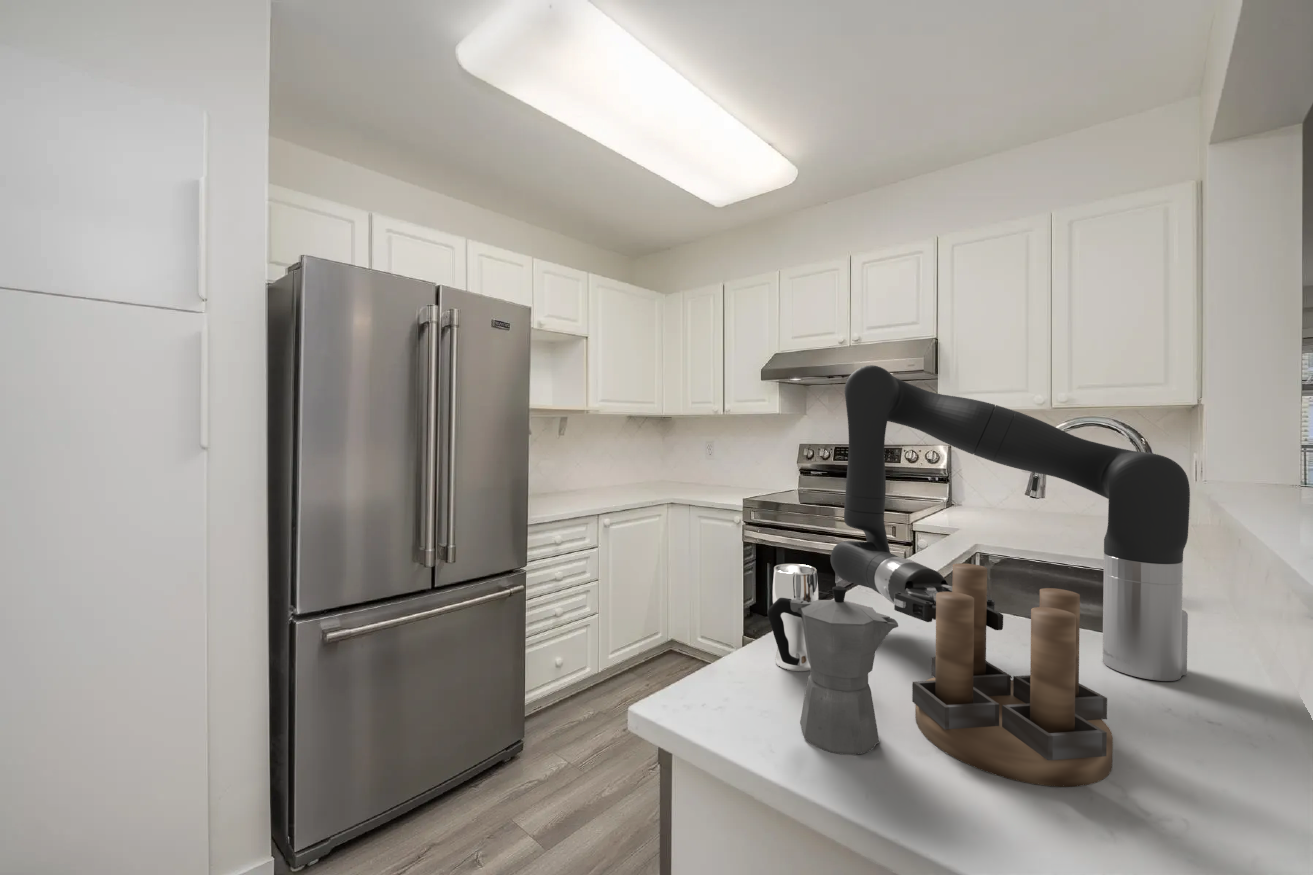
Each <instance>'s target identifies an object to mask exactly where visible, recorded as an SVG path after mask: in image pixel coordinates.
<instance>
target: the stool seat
mask: <svg viewBox="0 0 1313 875" xmlns="http://www.w3.org/2000/svg"><path fill="white" fill-rule="evenodd" d="M1080 600H1081V594H1080V593H1077V592H1075V591H1072V590H1066V589H1063V588H1062V589H1061V588H1054V587H1053V588H1052V587H1051V588H1050V587H1044V588H1043V587H1042V588H1040V589H1039V606H1035V607H1032V608H1031V609H1030V669H1029V670H1030V675H1013V676H1012V675H1011V674H1009V673H1008V672H1006V671H1004V670H1002V669H1001V668H999V667H997V666H995V665H994V664H992V663H990V662H989V661H987V660H986V675H978V676H973V667H974V598H973V597H972V596H969V595H966V594H962V593H957V592H939V593H937V594H936V620H935V656H931V669H930V670H931V672H930V674H931V676H932V677H931V678H928V679H926V680H920V681H919V680H917V681H916V680H915V681H912V686H911V688H912V694H911V695H912V696H911V698H912V700H911V701H912V703H913V704H914V705H915V706H914V707H915V711H914V714H915V715H914V716H915V724H916V725H917V727H918V729H919V731H920V732H921V734H922V735H923V736H924V737H925V738H926V739H927V740H928V741H929V742H931V744H933V745H934V746H935V747H937V748H938V749H939V750H941V751H943V752H944V753H946V754H948V755H949V756H951V757H952V758H954V759H956V760H958V761H961V762H962V763H964V764H965V765H969V766H971V767H972V768H973V767H974V768H975V769H978V770H980V771H984V772H987V773H990V774H992V775H994V776H995V775H996V776H998V777H1001V778H1005V779H1009V780H1013V781H1017V782H1020V783H1027V784H1031V785H1036V786H1045V787H1057V788H1058V787H1062V788H1066V787H1067V788H1069V787H1070V788H1072V787H1073V788H1075V787H1082V786H1083V787H1084V786H1089V785H1093V784H1097V783H1099V782H1100V781H1103V780H1104V779H1105V778H1107V777H1108V776H1110V774H1111V772H1112V770H1113V757H1114V756H1113V752H1114V751H1113V750H1114V749H1113V747H1114V744H1113V743H1114V742H1113V740H1114V738H1113V734H1112V730H1111V728H1110V727H1109V725H1108V724H1107V723H1106V722H1105V721H1104V720H1107V719H1108V697H1106V696H1104V695H1103V694H1100V693H1098V692H1096V691H1095V690H1093V689H1091V688H1090V687H1087V686H1085V685H1083V684H1082V683H1080V629H1081V628H1080V627H1081V626H1080V621H1081V616H1080V615H1081V614H1080V613H1081V612H1080V610H1081V608H1080V607H1081V601H1080ZM1012 677H1013V679H1012Z"/></svg>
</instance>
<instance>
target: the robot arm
mask: <svg viewBox="0 0 1313 875" xmlns="http://www.w3.org/2000/svg"><path fill="white" fill-rule="evenodd" d="M844 398H845V407H846V416H847V428H848V455H847V470H846V479H845V480H846V482H845V483H846V484H845V492H844V493H845V496H844V510H843V511H844V512H843V520H844V524H845V525H846V526H847V527H849V528H853V529H856V530H860V531H863V534H864V536H865V539H866V541H855V540H845V541H840V542H839V543H837V544H836V545H835V546H834V547H833V549H832V550H831V553H830V564H831V568H832V569H833V571H834V573H835V574H836V575H837V576H838V577H839V578H840V579H841V580H844V581H846V582H848V583H851V584H854V585H857V586H861V587H866V588H869V589H871V590H873V591H875V593H878V594H879V595H881V596H882V597H884V599H886V600H887V601H888V602H890V603H891V604H893V607H894V609H893V610H894V611H896V612H899V613H900V614H904V615H907V616H910V617H912V618H914V619H918V620H920V621H923V622H926V623H931V622H933V621H934V620H935V621H936V594H937V593H939V592H952V585H949V584H948V582H947V581H946V579H945V577H944V576H943V575H942V574H941V573H940V572H938V571H937V570H934V569H932V568H930V567H928V566H926V565H923V564H921V563H918V562H916V561H913V560H911V559H908V558H903V557H901V556H898V555H896V554H893V553H891V550H890V546H889V541H888V535H887V530H886V525H885V508H886V490H887V489H886V487H887V482H886V481H887V480H886V464H885V462H886V461H885V441H886V440H885V439H886V431H887V425H888V422H890V423H893V424H898V425H901V426H905V427H908V428H912V429H915V430H918V431H921V432H923V433H925V434H926V435H929V436H930V437H932V438H934V439H936V440H939V441H941V442H942V443H945V444H947V445H949V446H951V447H954V448H956V449H958V450H960V451H963V452H965V453H967V454H971V455H974V456H976V457H979V458H982V459H984V460H988V461H991V462H993V463H996V464H1000V465H1002V466H1006V467H1008V468H1009V467H1010V468H1014V469H1016V470H1017V469H1018V470H1022V471H1027V472H1030V473H1036V474H1041V475H1044V476H1048V477H1049V476H1051V477H1053V478H1057V479H1061V480H1062V481H1066V482H1069V483H1071V484H1074V485H1076V486H1079V487H1081V488H1083V489H1086V490H1088V491H1091V492H1092V493H1095V494H1097V495H1100V496H1101V497H1103V498H1106V499H1107V500H1108V508H1107V509H1108V512H1107V513H1108V514H1107V528H1106V531H1105V532H1106V533H1105V535H1104V538H1103V585H1102V586H1103V587H1102V588H1103V593H1102V594H1103V599H1102V601H1103V602H1102V605H1103V606H1102V609H1103V610H1102V615H1103V616H1102V662H1103V664H1104V665H1105V666H1107V667H1109V668H1110V669H1112V670H1114V671H1117V672H1120V673H1123V674H1126V675H1128V676H1132V677H1137V678H1141V679H1146V680H1151V681H1158V682H1159V681H1161V682H1172V681H1178V680H1180V679H1181V678H1182V676H1187V675H1188V634H1189V633H1188V632H1189V631H1188V627H1189V626H1188V625H1189V624H1188V623H1189V622H1188V621H1189V616H1188V612H1187V611H1186V610H1184V609H1183V578H1184V577H1183V566H1184V562H1183V561H1184V550H1185V547H1186V545H1187V542H1188V538H1189V523H1190V505H1191V501H1190V500H1191V491H1190V490H1191V489H1190V482H1189V477H1188V475H1187V473H1186V471H1185V470H1184V469H1183V467H1182V466H1181V465H1180V464H1179V463H1177V462H1176V461H1175V460H1173V459H1171V458H1170V457H1167V456H1164V455H1161V454H1159V453H1157V454H1156V453H1151V452H1147V451H1146V452H1143V451H1138V450H1137V451H1136V450H1130V449H1125V448H1120V447H1116V446H1111V445H1106V444H1103V443H1099V442H1095V441H1091V440H1087V439H1084V438H1082V437H1081V438H1080V437H1078V436H1076V435H1073V434H1070V433H1068V432H1067V431H1064V430H1062V429H1060V428H1058V427H1056V426H1054V425H1052V424H1049V423H1047V422H1045V421H1043V420H1040V419H1037V418H1035V417H1033V416H1030V415H1028V414H1026V413H1023V412H1020V411H1016V410H1013V409H1010V408H1007V407H1004V406H1000V405H997V404H994V403H990V402H986V401H982V400H978V399H973V398H969V397H967V398H966V397H962V396H954V395H948V394H942V393H936V392H932V391H929V390H926V389H923V388H921V387H919V386H917V385H916V386H915V385H914V384H911V383H908V382H906V381H904V380H901V379H899V378H897V377H896V376H894V375H893V374H892V373H890V372H889V371H888V370H887V369H885V368H883V367H881V366H878V365H873V364H872V365H871V364H870V365H869V364H868V365H864V366H861V367H859V368H856V370H855V371H853V372H851V374H850V375H849V376H848V378H847V380H846V382H845V384H844ZM995 605H996V601H995V600H994V599H993V598H992V597H990V596H989V595H988V594H987V618H986V627H988V628H991V629H993V630H994V631H1002V630H1003V628H1004V614H1002V613H1001V612H999V611H997V610H995Z"/></svg>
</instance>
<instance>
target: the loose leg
mask: <svg viewBox="0 0 1313 875" xmlns="http://www.w3.org/2000/svg"><path fill="white" fill-rule="evenodd" d="M951 581H952V582H951V583H952V585H951V586H952V592H957V593H962V594H966V595H969V596H972V597H973V598H974V667H973V676H978V675H986V661H987V626H986V618H987V595H988V568H987V567H986V566H982V565H979V564H972V563H964V562H963V563H959V562H958V563H953V564H952V580H951Z"/></svg>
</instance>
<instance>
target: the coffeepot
mask: <svg viewBox="0 0 1313 875" xmlns="http://www.w3.org/2000/svg"><path fill="white" fill-rule="evenodd" d="M831 588H832V589H831V590H832V594H833V599H818V600H816V601H813V602H807V601H803V600H796V599H793V600H792V599H788V598H779V599H778V600H777V601H776V602H775V603H774V604H773V603H772V605H770V606H769V608H768V610H767V619H768V621H769V624H770V626H771V629H772V630H771V631H772V633H773V635H774V636H773V637H774V639H775V642H776V646H777V647H778V650H779V653H780V656H781V659H782V661H783V662H785V663H787V664H790V665H798V663H799V661H800V659H799V658H795V657H793V656H791V655H790V653H789V642H788V639H787V637H786V635H785V631H784V623H783V620H782V618H781V614H782V613H788V614H791V615H793V616H797V617H800V618H802V622H803V629H804V636H805V643H806V651H807V658H808V661H809V664H810V666H811V670H810V672H809V673H810V674H809V675H808V677H807V683H806V687H805V693H804V698H803V705H802V709H801V716H800V721H799V724H800V727H801V733H802V735H803V737H804V739H805V740H806V741H808V742H809V743H810V744H811V745H813V746H815V747H817V748H819V749H821V750H823V751H826V752H829V753H833V754H837V755H847V756H848V755H849V756H852V755H853V756H855V755H861V754H865V753H868V752H870V751H872V750H873V749H875V747H876V745H877V744H879V743H880V738H879V737H880V736H879V732H878V726H877V719H876V714H875V713H876V712H875V708H874V700H873V695H872V690H871V687H870V684H869V673H871V672H872V671H873V666H874V661H875V656H876V652H877V651H878V649H879V647H881V644H882V643H883V641H884V640H885V639H886V638H887V636H888V635H889V634H890V633H891V631H892V630H893V629H896V628H898V627H899V623H898V622H897V620H896V619H894V618H891V616H888V615H885V614H882V613H879V612H876V610H875V609H874V608H873V607H871V606H867V605H864V604H861V603H860V604H859V603H855V602H851V601H849V600H845V596H846V592H847V588H846V587H844V586H841V585H837V586H832V587H831Z"/></svg>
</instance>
